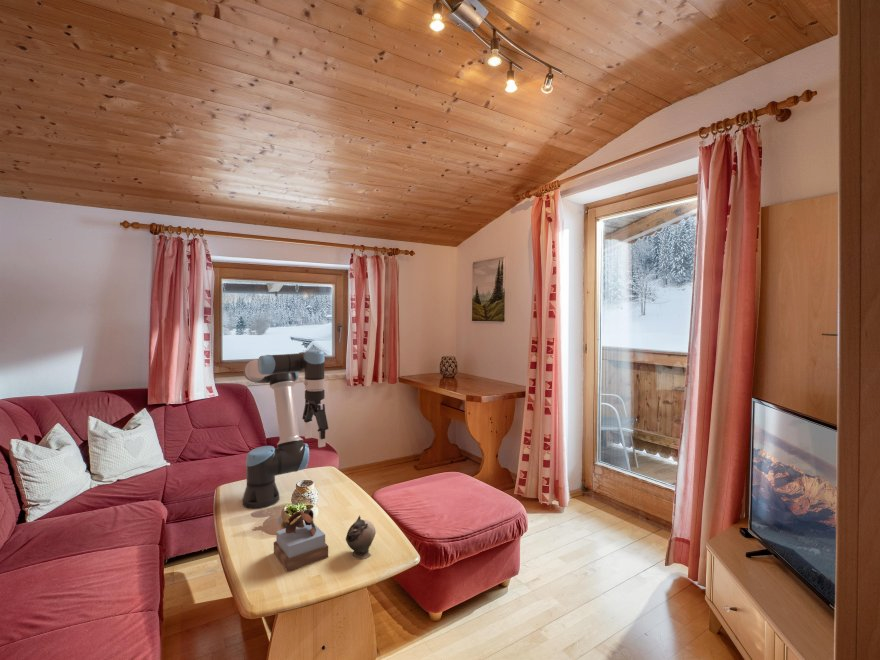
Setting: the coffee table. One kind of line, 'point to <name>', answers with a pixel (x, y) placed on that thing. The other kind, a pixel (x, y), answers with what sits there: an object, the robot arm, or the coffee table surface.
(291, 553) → the top brick
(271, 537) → the coffee table surface
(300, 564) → the base brick
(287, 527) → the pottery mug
